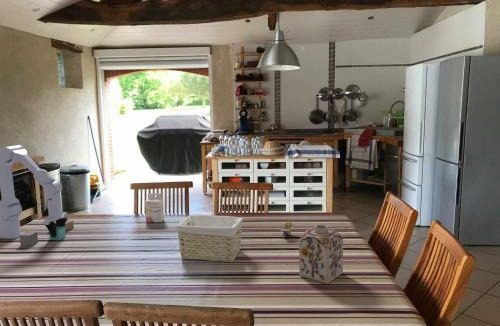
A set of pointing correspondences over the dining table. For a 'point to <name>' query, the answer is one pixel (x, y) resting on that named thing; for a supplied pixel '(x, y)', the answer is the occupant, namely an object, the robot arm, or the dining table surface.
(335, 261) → the decorative jar
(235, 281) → the dining table surface
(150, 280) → the dining table surface
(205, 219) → the storage basket
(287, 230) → the small potted plant
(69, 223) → the base block
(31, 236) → the gray cube
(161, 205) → the ink cartridge box
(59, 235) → the teal cube
